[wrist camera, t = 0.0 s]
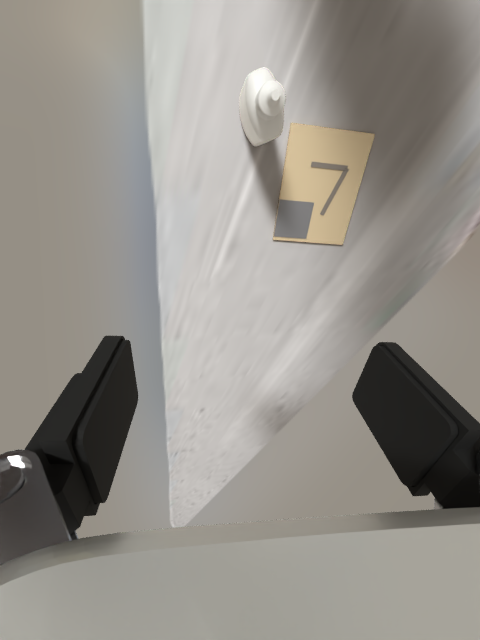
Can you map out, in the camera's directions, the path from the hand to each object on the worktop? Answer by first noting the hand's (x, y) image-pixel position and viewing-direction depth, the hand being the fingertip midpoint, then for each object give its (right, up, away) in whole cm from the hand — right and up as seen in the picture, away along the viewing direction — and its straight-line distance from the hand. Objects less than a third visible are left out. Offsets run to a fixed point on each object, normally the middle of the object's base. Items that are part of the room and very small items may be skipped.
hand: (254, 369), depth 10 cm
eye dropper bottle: (+1, +26, +21) cm, 34 cm away
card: (+10, +20, +26) cm, 34 cm away
